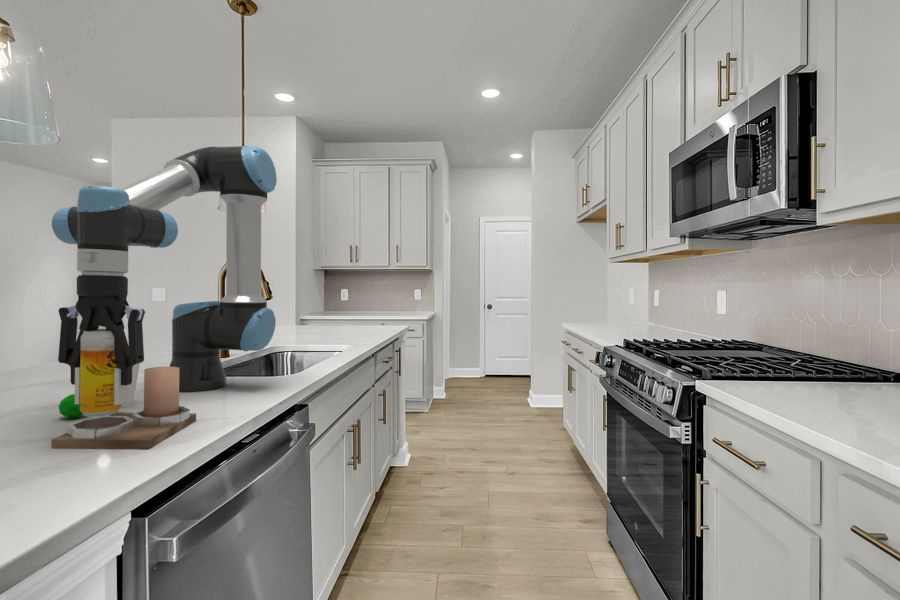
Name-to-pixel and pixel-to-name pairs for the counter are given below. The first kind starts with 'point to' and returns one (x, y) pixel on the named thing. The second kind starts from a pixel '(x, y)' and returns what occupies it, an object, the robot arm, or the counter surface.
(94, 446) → the pin board
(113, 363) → the beer can
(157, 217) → the robot arm
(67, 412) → the polyhedron
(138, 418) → the socket collars
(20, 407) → the counter surface
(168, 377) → the pin
